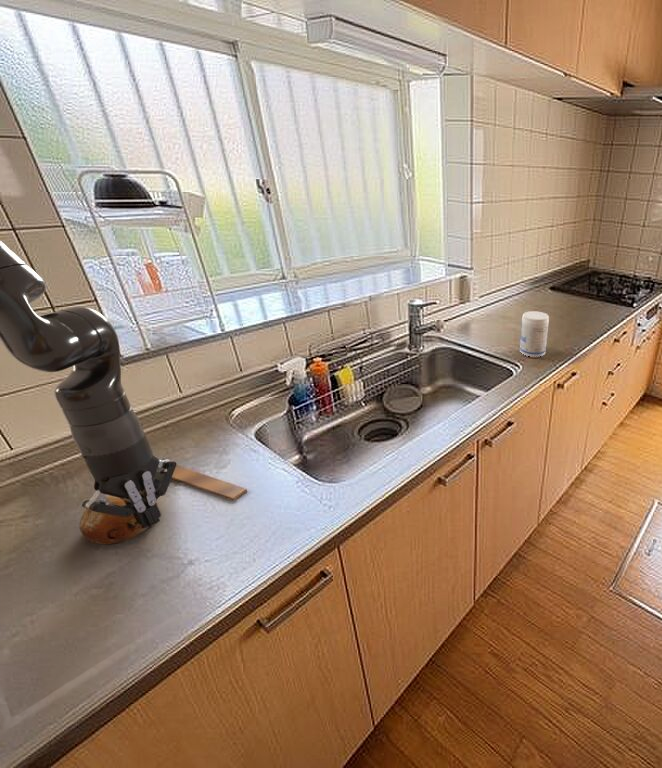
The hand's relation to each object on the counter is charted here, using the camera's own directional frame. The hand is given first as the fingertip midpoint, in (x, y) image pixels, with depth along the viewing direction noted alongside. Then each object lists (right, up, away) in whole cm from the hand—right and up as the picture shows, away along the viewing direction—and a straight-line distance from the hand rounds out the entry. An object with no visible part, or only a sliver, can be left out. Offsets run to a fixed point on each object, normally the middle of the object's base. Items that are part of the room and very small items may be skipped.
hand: (151, 523), depth 72 cm
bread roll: (-6, -1, +2) cm, 6 cm away
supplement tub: (+70, +35, +82) cm, 113 cm away
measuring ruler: (-2, +4, +13) cm, 14 cm away
